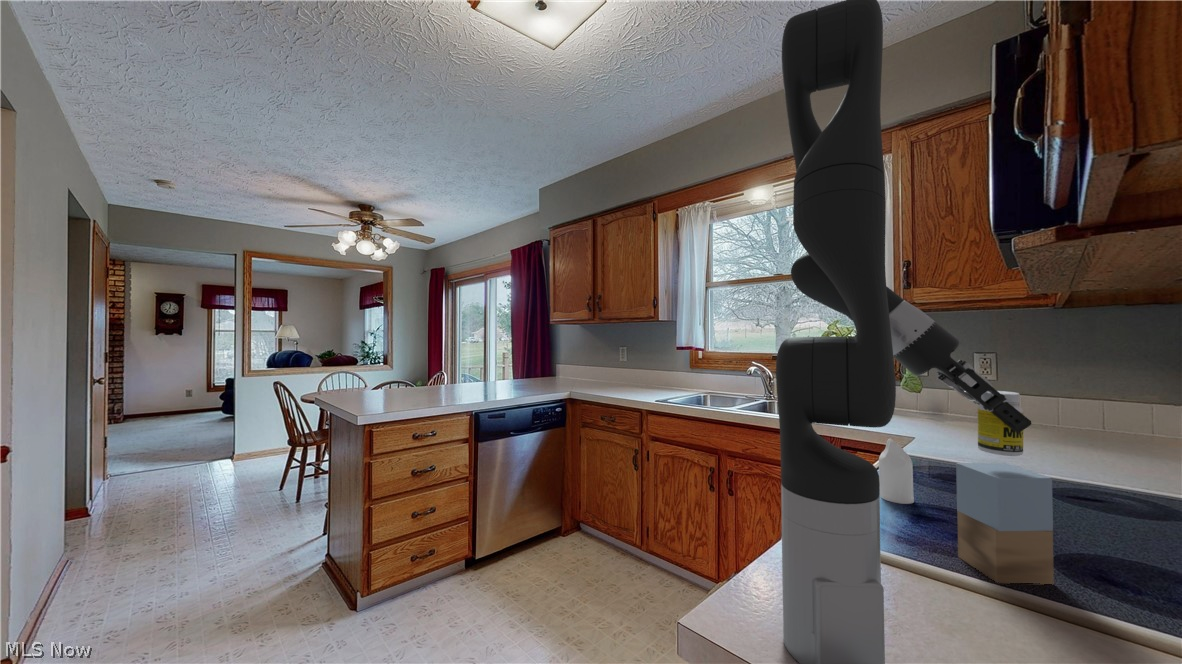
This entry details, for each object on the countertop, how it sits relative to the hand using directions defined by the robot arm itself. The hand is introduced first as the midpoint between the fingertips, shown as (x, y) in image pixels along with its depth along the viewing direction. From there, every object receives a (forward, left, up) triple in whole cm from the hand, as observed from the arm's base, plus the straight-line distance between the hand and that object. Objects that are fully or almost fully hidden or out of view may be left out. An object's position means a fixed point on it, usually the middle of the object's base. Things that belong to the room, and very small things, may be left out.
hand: (1017, 423), depth 62 cm
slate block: (+1, +2, -14) cm, 14 cm away
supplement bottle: (+1, +2, -4) cm, 5 cm away
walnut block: (+1, +2, -21) cm, 21 cm away
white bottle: (+28, +1, -21) cm, 35 cm away
